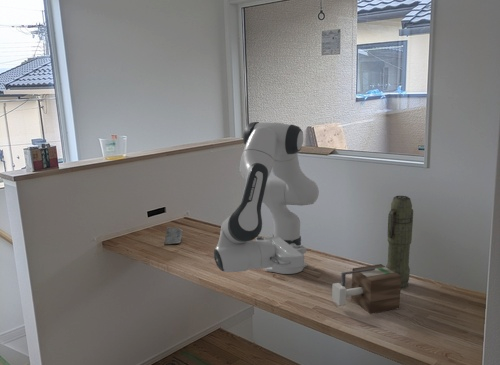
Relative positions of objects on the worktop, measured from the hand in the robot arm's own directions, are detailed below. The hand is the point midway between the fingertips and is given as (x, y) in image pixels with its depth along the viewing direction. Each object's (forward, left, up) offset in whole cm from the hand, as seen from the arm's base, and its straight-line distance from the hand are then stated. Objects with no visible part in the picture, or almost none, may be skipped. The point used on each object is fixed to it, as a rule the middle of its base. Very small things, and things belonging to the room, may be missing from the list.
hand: (304, 249), depth 158 cm
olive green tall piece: (-12, +46, -24) cm, 53 cm away
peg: (0, +20, -21) cm, 29 cm away
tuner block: (0, +28, -24) cm, 37 cm away
